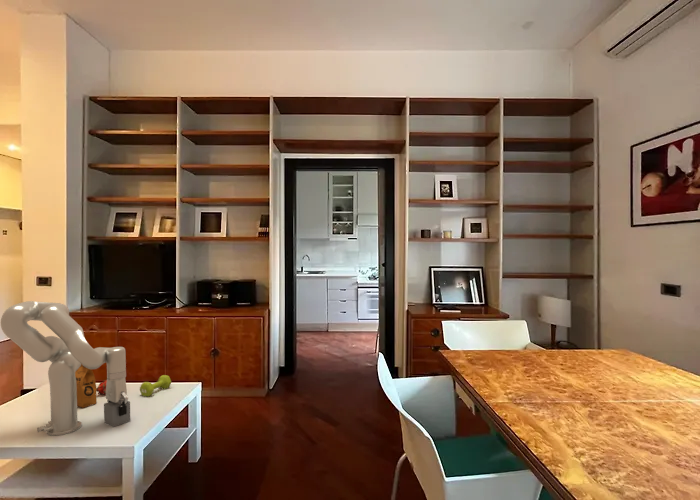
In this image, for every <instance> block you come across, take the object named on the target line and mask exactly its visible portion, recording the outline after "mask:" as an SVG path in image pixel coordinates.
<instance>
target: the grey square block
mask: <svg viewBox="0 0 700 500" xmlns="http://www.w3.org/2000/svg"><path fill="white" fill-rule="evenodd" d="M120 400H121V399H120ZM122 402H123V401H122ZM122 402H121V404H122ZM119 407H120V406H119V403H118V402H117V403H114V402H112V401H111V402H105V403H103V418H104V419H103V423H104V424H105V425H107V426H110V427H111V428H114V427H117V426H120V425H123V424H126V423H129V422H131V401H129V400H128V403H127V414H125V415H122V416H119Z"/></svg>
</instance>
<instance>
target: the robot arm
mask: <svg viewBox="0 0 700 500" xmlns="http://www.w3.org/2000/svg"><path fill="white" fill-rule="evenodd" d="M0 318H1V319H0V328H1V330H2V332H3V334H4V335H5V336H6V337H7V339H10V340H11V341H12V342H13V343H15V344H16V345H17V346H18V347H19V348H20V349H21V350H22V351H23V352H25V353H26V354H27V355H29V356H30V357H31V359H33V360H34V361H36V362H38V363H45V362H51V364H50V365H49V367H48V371H47V375H48V376H47V377H48V382H49V396H50V420H49V421H48V422H47V423H46V424H45V425H41V426H39V427H37V428H36V429H37V433H41V432H43V433H45V432H46V434H47V435H49V436H61V435H66V434H71V433H73V432H75V431H77V430H79V429H80V428H81V427H82V422H81V421H80V420H78V406H77V384H76V377H75V372H76V371H77V370H78V369H79V367H80V366H81V364H82V365H83V366H84V367H86V368H88V369H92V370H97V369H99V368H100V367H101V366H102V365H104V364H106V381H107V382H106V394H105V398H106V403H108V402H111V401H112V402H114V403H117V402H118V403H119V406H120V407H119V416H122V415H125V414H127V403H128V401H129V397H128V395H127V393H128V392H127V390H128V389H127V383H126V381H127V380H126V377H127V367H126V366H127V365H126V364H127V359H126V358H127V357H126V355H127V354H126V348H125V347H123V346H113V347H101V346H99V347H95V348H93V347H92V346H91V345H90V344H89V342H88V341H87V340H86V338H85V333H84V330H83V327H82V326H81V325H80V324H78V322H77V321H76V320H74V318H72V317H71V316H70V309H69V307H68V306H67V305H66V304H64V303H61V302H49V301H48V302H47V301H36V300H35V301H34V300H30V301H23V302H22V301H21V302H19V303H16V304H13V305H11V306H9V307H7V309H5V311H4V312H3V313H2V315H1V317H0ZM29 321H40V322H42V323H43V324H44V325H46V326H47V328H48V329H49V330H50V331H52V332H53V333H54V334H55V335H56V336H54V335H49V336H45V335H43V334H42V333H41V332H40V331H38V330H37V329H36V328H35V327H33V326H31V325H30V324H29V323H28V322H29ZM120 399H121V400H120ZM122 401H123V402H122ZM121 402H122V404H121Z"/></svg>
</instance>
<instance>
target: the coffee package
mask: <svg viewBox="0 0 700 500" xmlns="http://www.w3.org/2000/svg"><path fill="white" fill-rule="evenodd" d="M75 377H76V384H77V408H81V409H85V408H87V407H91V406H93V405H96V404H97V383H96V382H97V381H96V378H95V374H94V371H93V369H88V368H86V367H84V366H83V365H82V364H81V366H80V367H79V369H78V370H77V371H76V372H75Z"/></svg>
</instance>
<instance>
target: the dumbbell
mask: <svg viewBox="0 0 700 500" xmlns="http://www.w3.org/2000/svg"><path fill="white" fill-rule="evenodd" d="M171 383H172V380H171V378H170V376H169V375H166V374H163V375H161V376H159V378H158V380H157V381H156V382H154V383H152V382H149V381H143V382H142V383H141V385H140V387H139V391H140V394H141V396H142V397H145V396H147V398H148V396H149V397H151V396H152V395H153V394H154V391H155V390H156V389H158V388H160V389H162V388H163V390H166V389H169V388H170V386H171V385H172V384H171Z"/></svg>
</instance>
